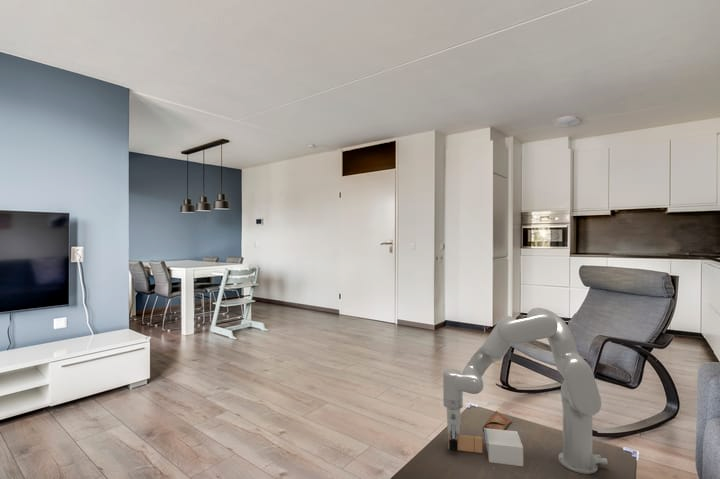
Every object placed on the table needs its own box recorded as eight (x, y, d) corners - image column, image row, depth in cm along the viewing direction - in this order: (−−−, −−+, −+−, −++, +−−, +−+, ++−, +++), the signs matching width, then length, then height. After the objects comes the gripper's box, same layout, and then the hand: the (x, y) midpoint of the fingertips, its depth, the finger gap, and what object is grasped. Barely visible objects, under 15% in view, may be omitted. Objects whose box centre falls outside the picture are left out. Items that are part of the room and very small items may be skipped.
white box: (517, 448, 149) (517, 430, 149) (523, 466, 137) (523, 447, 137) (483, 444, 152) (483, 427, 152) (486, 461, 140) (486, 442, 140)
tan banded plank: (481, 450, 147) (481, 436, 147) (482, 453, 146) (482, 438, 146) (448, 446, 150) (448, 432, 150) (448, 449, 148) (448, 435, 149)
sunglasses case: (502, 438, 157) (494, 422, 159) (488, 442, 161) (480, 426, 163) (513, 421, 172) (505, 407, 174) (499, 425, 175) (492, 411, 177)
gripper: (463, 411, 140) (464, 460, 140) (461, 394, 156) (462, 438, 156) (443, 409, 142) (443, 457, 142) (443, 393, 157) (443, 436, 157)
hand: (453, 447), depth 149 cm, fingers closed on tan banded plank
